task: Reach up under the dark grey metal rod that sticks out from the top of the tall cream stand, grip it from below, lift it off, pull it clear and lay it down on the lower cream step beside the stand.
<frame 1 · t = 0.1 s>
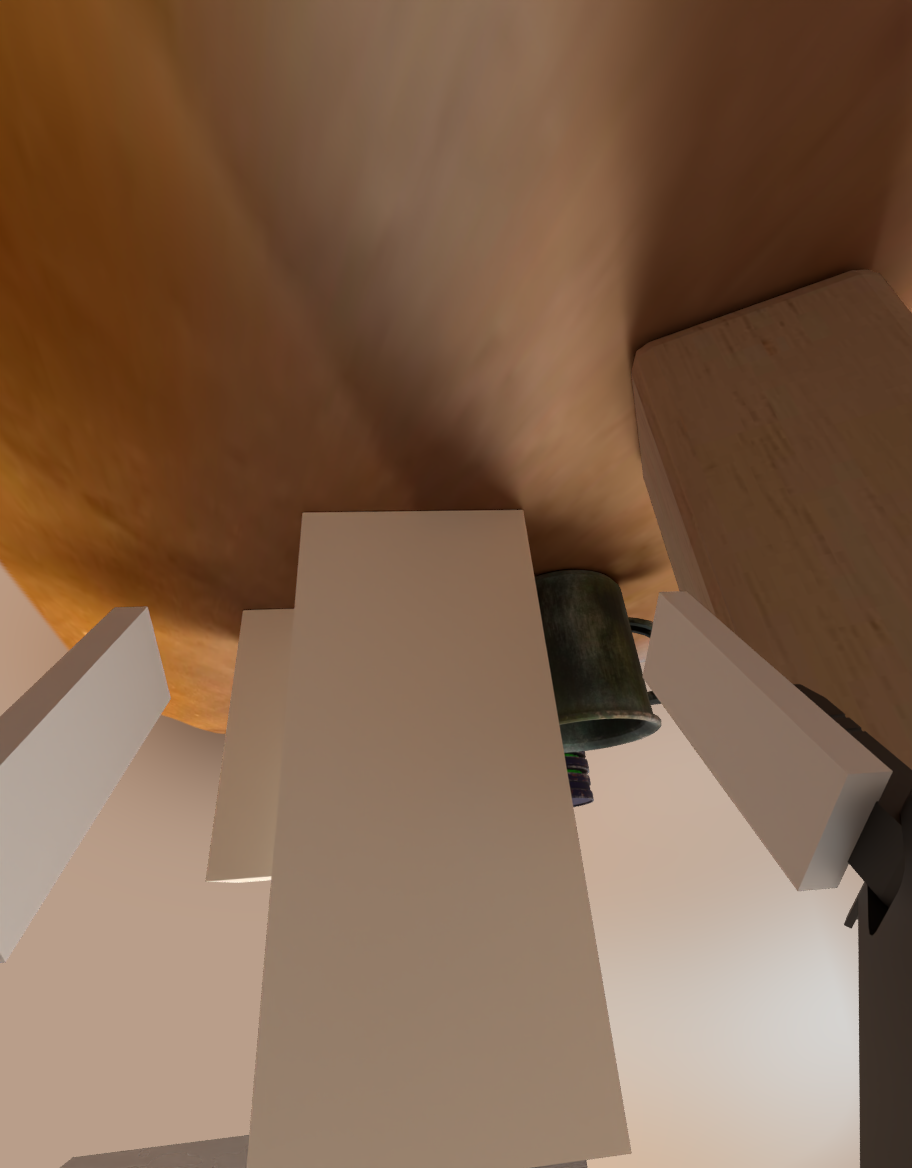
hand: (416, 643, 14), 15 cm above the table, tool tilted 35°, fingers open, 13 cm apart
dark purple barrel: (522, 658, 58), on the table
block: (733, 382, 27), on the table
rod: (322, 1140, 23), point 30 cm above the table, touching stand
step: (324, 628, 48), on the table
mug: (576, 592, 46), on the table
stand: (414, 553, 38), on the table
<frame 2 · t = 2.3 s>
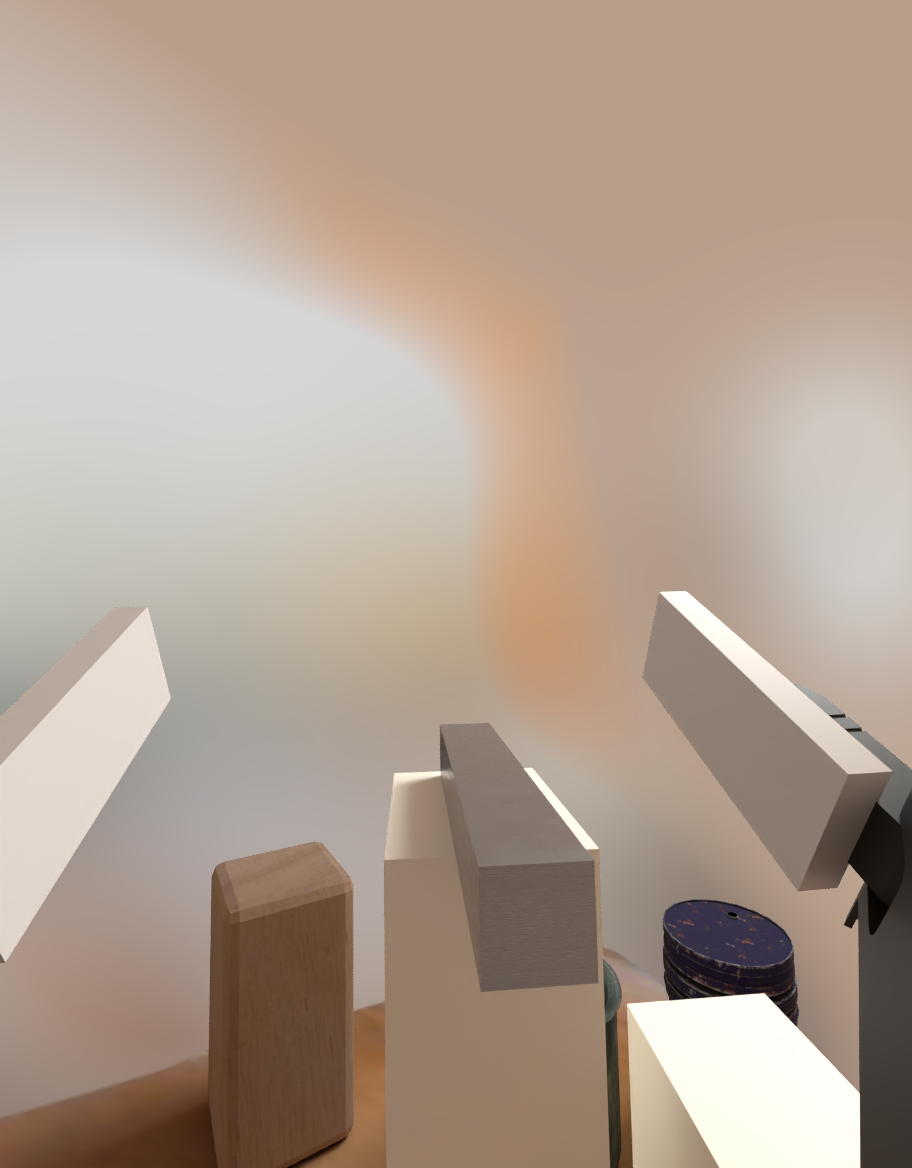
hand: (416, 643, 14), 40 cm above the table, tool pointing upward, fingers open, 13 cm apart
dark purple barrel: (734, 1124, 43), on the table
block: (279, 1121, 44), on the table
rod: (487, 836, 26), point 30 cm above the table, touching stand
mug: (546, 1119, 44), on the table
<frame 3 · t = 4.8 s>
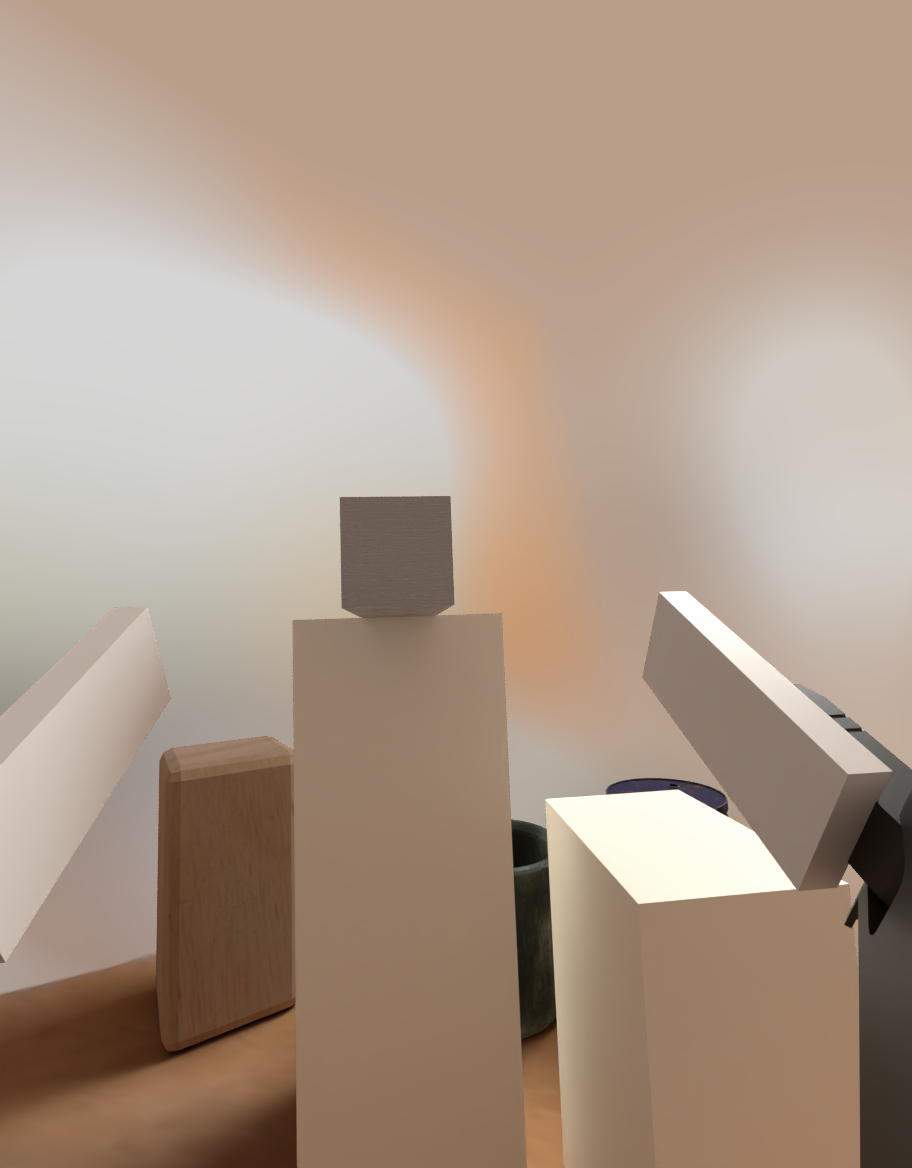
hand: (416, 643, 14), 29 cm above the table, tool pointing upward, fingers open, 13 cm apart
dark purple barrel: (677, 982, 44), on the table
block: (227, 999, 44), on the table
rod: (399, 618, 28), point 30 cm above the table, touching stand
mug: (494, 986, 44), on the table
stand: (414, 1159, 30), on the table
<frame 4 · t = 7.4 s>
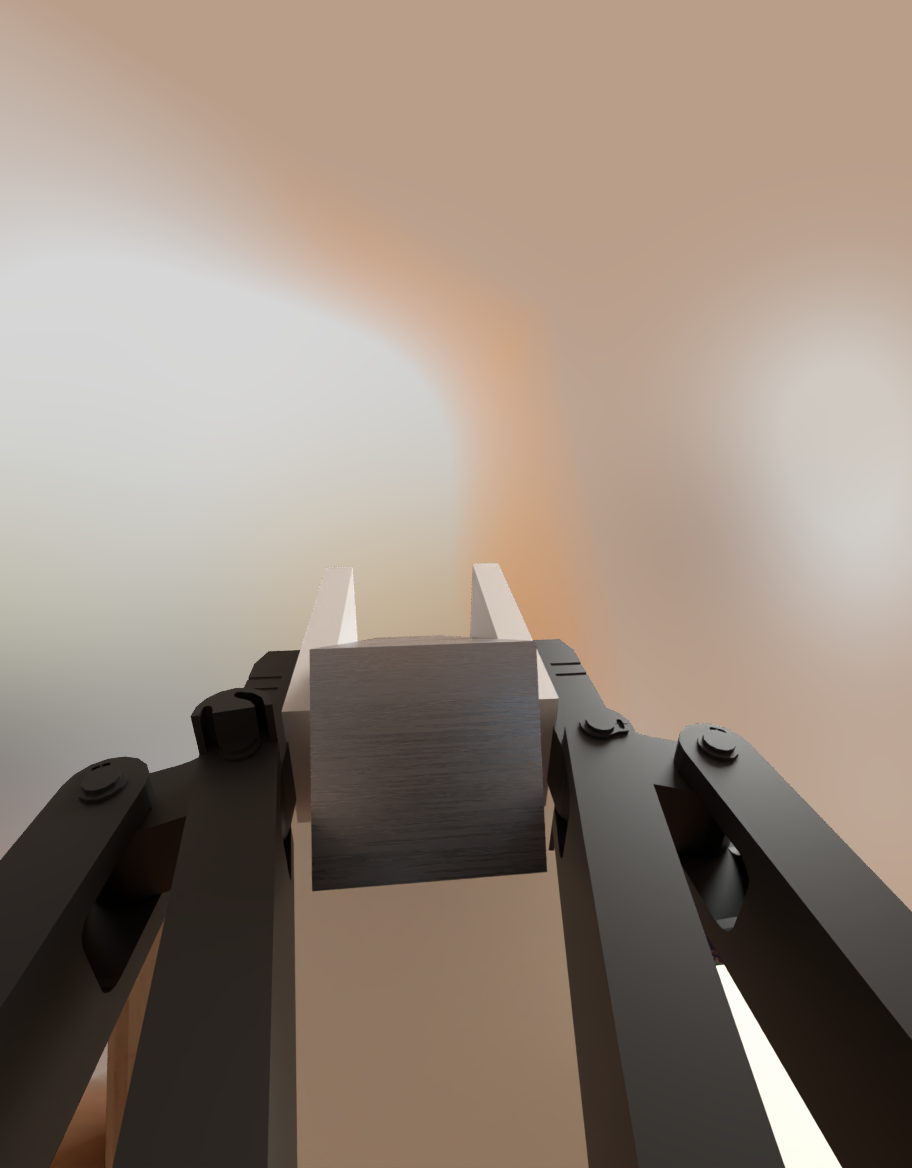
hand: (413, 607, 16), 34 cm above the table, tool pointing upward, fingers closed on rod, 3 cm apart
block: (195, 1151, 35), on the table
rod: (415, 737, 19), point 30 cm above the table, touching gripper, stand
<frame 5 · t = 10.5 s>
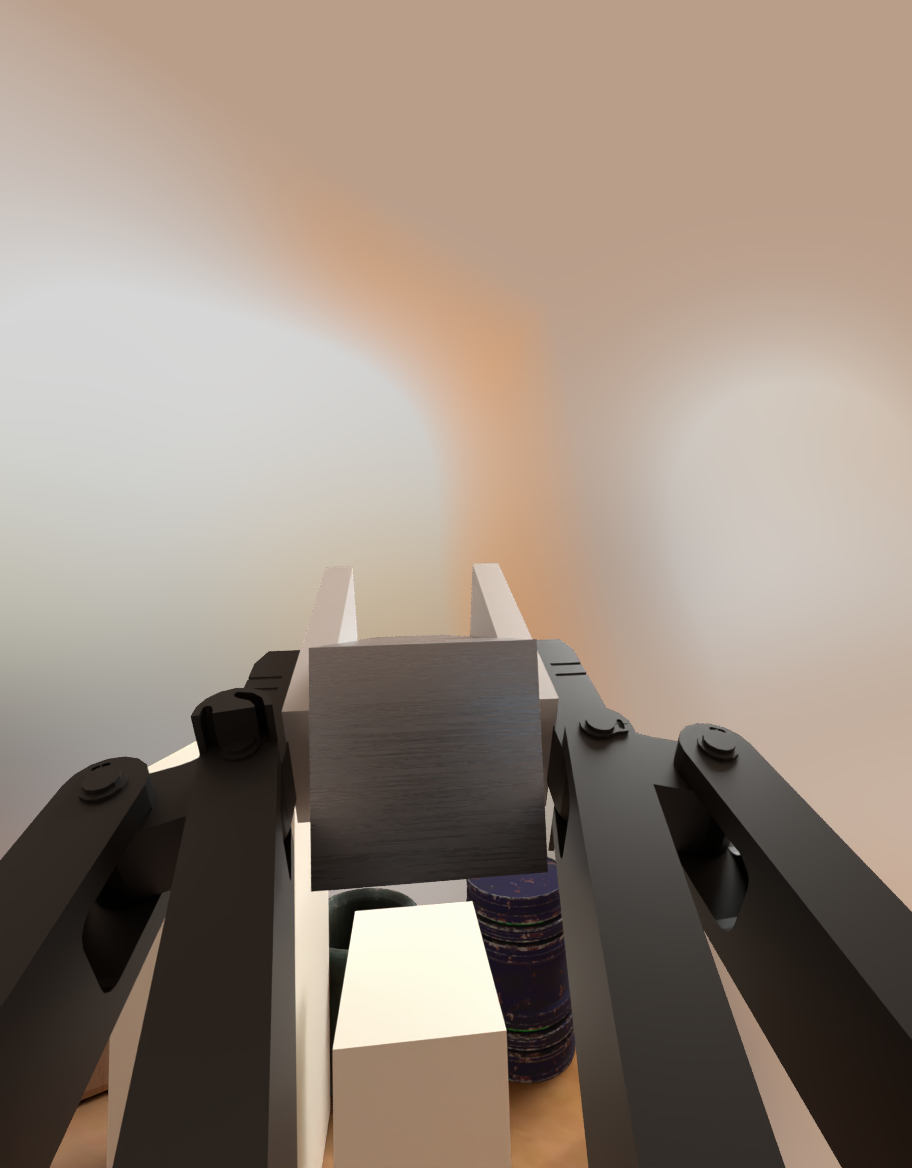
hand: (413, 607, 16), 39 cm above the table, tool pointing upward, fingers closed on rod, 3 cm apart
dark purple barrel: (522, 1041, 50), on the table
block: (125, 1052, 50), on the table
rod: (415, 737, 19), point 35 cm above the table, touching gripper
mug: (361, 1043, 50), on the table
when the fingers open (25 cm above the table, at t = 14.0 s): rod drops 1 cm, resting on step.
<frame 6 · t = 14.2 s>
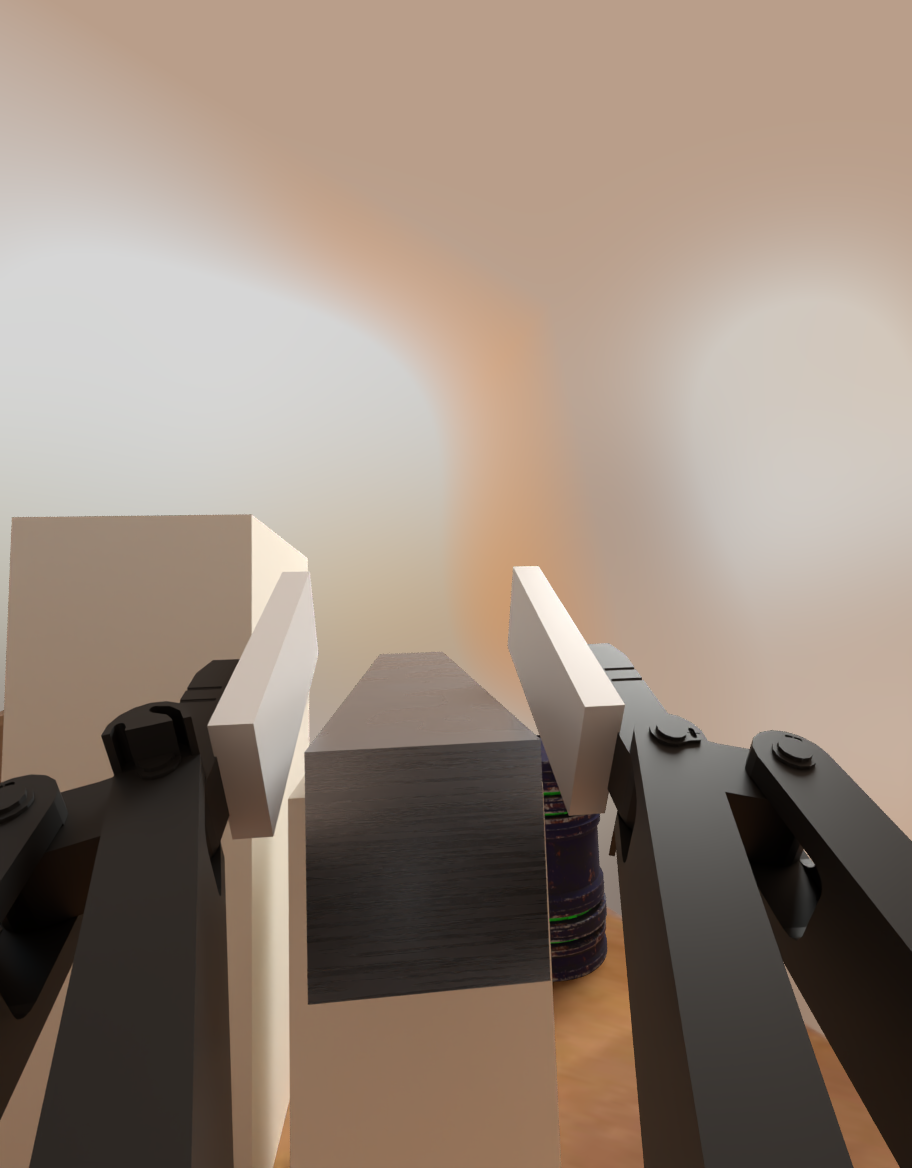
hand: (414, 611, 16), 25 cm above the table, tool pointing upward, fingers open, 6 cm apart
dark purple barrel: (544, 944, 42), on the table
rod: (416, 773, 19), point 20 cm above the table, touching step
stand: (190, 1112, 28), on the table
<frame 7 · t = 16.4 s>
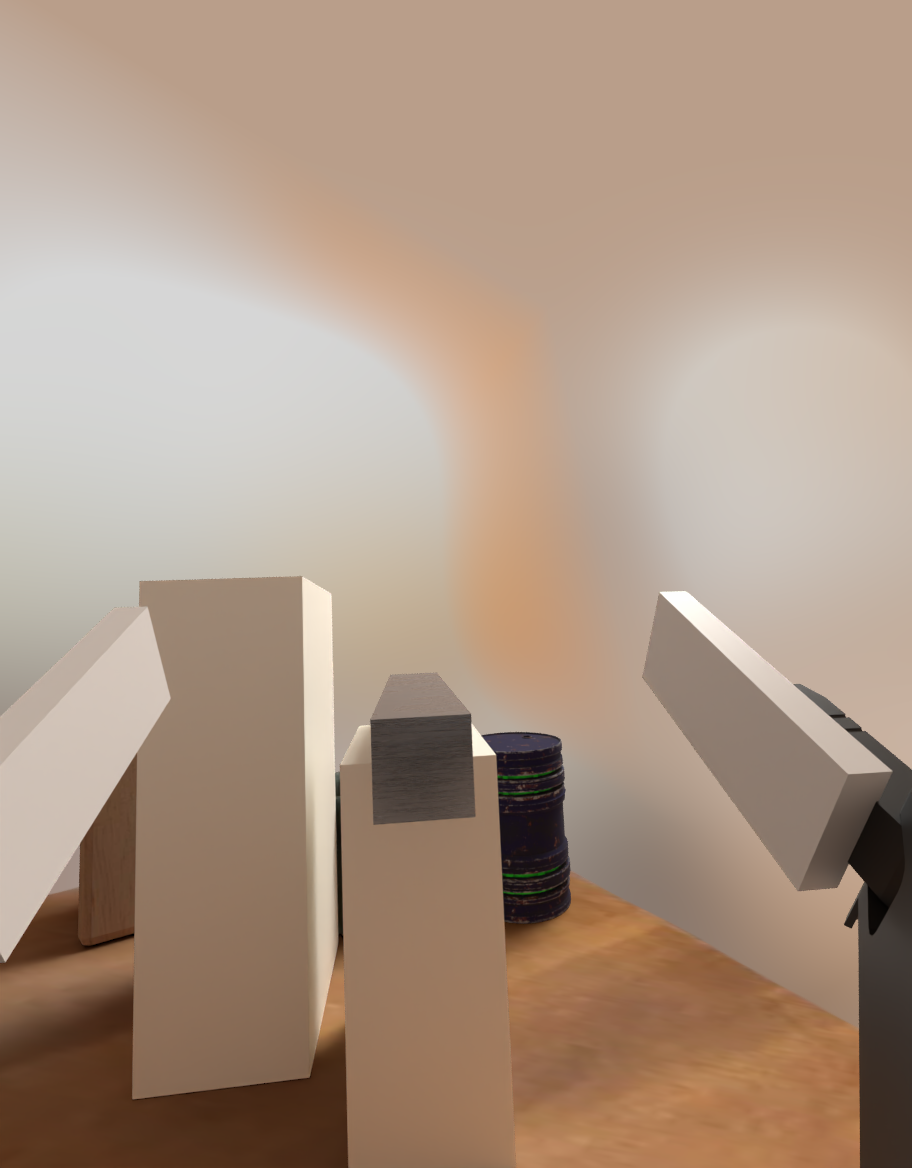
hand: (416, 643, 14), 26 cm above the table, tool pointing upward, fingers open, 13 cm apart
dark purple barrel: (521, 899, 52), on the table
block: (143, 914, 52), on the table
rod: (418, 752, 29), point 19 cm above the table, touching step
step: (428, 1076, 31), on the table
mug: (367, 903, 53), on the table
stand: (255, 1006, 38), on the table
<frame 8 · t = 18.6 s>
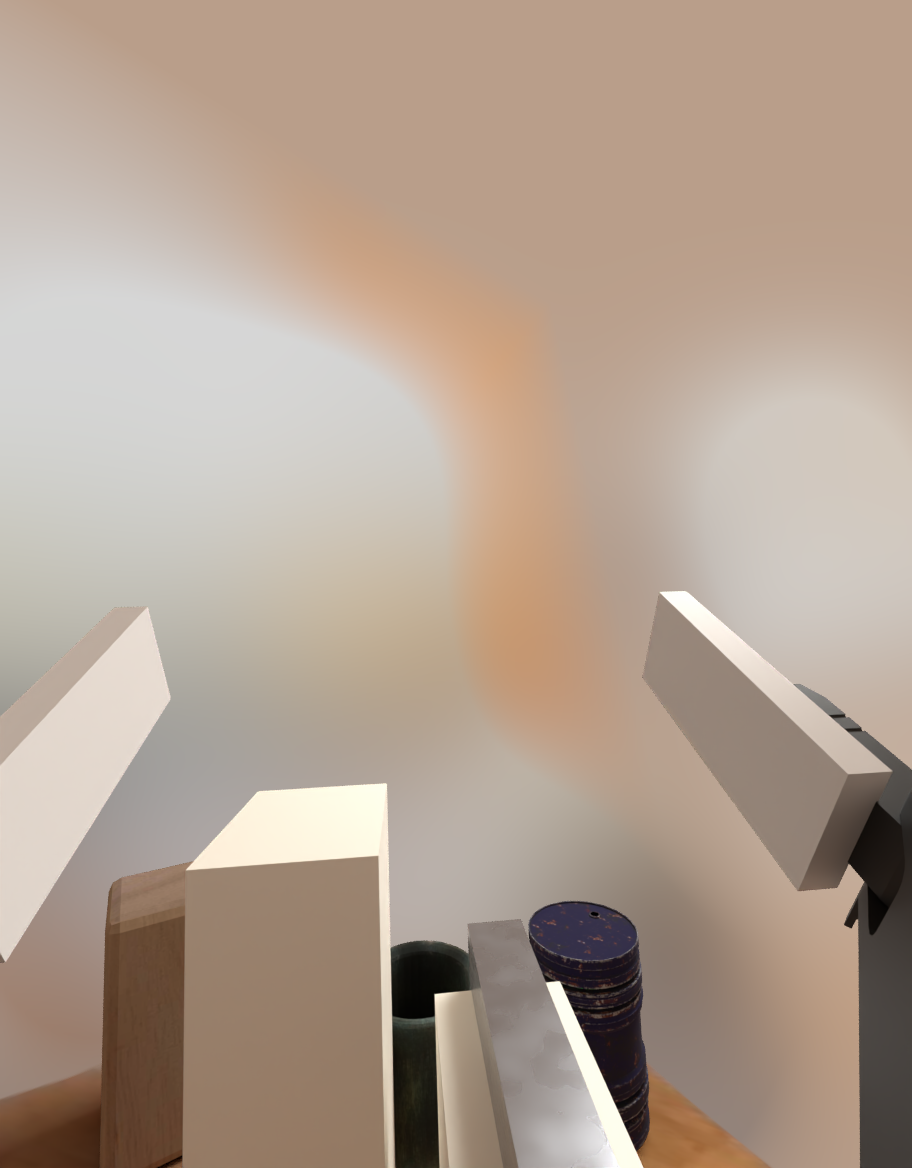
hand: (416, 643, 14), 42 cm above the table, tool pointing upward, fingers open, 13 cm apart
dark purple barrel: (591, 1109, 47), on the table
block: (169, 1121, 47), on the table
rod: (538, 1138, 23), point 19 cm above the table, touching step
mug: (419, 1110, 47), on the table
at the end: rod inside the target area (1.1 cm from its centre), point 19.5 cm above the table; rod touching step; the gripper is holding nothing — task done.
